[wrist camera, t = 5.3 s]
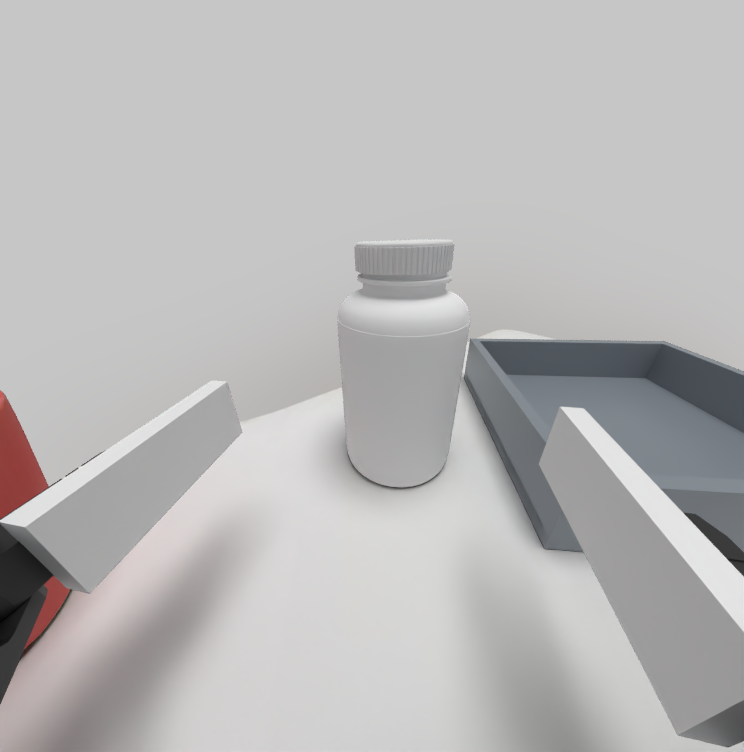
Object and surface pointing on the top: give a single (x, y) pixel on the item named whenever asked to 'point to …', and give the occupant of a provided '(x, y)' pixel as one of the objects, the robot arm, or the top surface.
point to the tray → (617, 420)
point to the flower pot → (24, 496)
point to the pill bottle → (401, 360)
